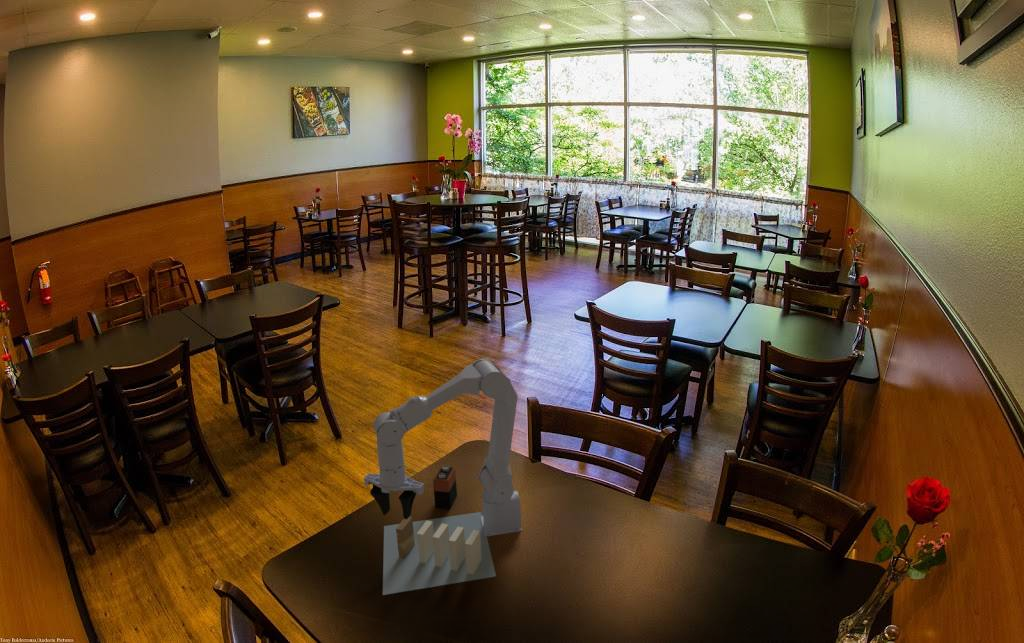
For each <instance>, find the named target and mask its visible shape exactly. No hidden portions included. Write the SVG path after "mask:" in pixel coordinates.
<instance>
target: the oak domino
mask: <svg viewBox="0 0 1024 643" xmlns="http://www.w3.org/2000/svg"><path fill="white" fill-rule="evenodd" d="M413 522H414V521H413V517H412V516H411V515H410V516H409V518H408V519H404V518H402V520H401V522H399V523H398V524H399V525H398V527H397V528H396V535H397V544H398V553H399V557H400V558H406V557H407V555H408V554H409V552H410V551H411V550H412V548H413V547H414V546H415V540H414V530H413Z"/></svg>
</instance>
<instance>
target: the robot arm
mask: <svg viewBox="0 0 1024 643" xmlns="http://www.w3.org/2000/svg"><path fill="white" fill-rule="evenodd" d="M503 372H504V371H502V370H501V369H500V367H499V366H497V365H496V364H495V363H494V362H492V361H491V360H490V359H488V358H480V359H477V360H475V361H474V362H473V363H471V364H468V365H467V366H465V367H464V368H463V370H461V371H460V372H459V373H458V374H457V375H455V376H454V377H452V378H451V379H450V380H448V381H447V382H444V384H442V385H441V386H439V387H438V388H436V389H435V390H433V391H431V392H430V393H428V394H427V395H416V396H415V397H414V396H412V395H411V396H410V397H409V398H407V401H406V402H404V403H402V404H401V405H399V406H398V407H396V408H394V409H393V408H391V409H390V410H389V411H387V412H386V411H385V412H382V413H380V414H378V415H377V416H376V417H375V419H374V421H373V424H372V429H373V431H374V433H375V435H376V446H377V447H376V451H377V459H378V460H377V461H378V462H377V463H378V469H379V470H378V471H379V473H367V474H366V475H365V476H364V477H363V481H364V485H365V486H370V485H372V488H371V490H369V493H370V496H372V498H374V500H375V501H376V503H377V505H378V506H379V508H380V510H381V513H382V515H383V516H386V515H388V513H389V512H390V510H391V503H390V493H391V492H401V491H402V493H401V494H400V495H399V496H398V500H399V502H400V505H401V508H402V516H403V519H408V518H409V516H410V517H411V516H412V508H413V504H414V501H415V498H416V495H418V496H421V495H422V494H423V493H424V491H425V483H423V482H420V481H417V480H415V479H413V478H411V477H409V476H407V474H406V466H405V465H406V464H405V455H404V454H405V453H404V445H403V442H402V440H403V438H404V435H405V434H407V433H408V432H409V431H410V430H412V429H414V428H416V427H417V426H419V425H420V424H422V423H423V422H425V421H427V420H428V419H430V418H432V415H433V411H434V410H435V409H437V408H439V407H441V406H443V405H444V404H446V403H448V402H450V401H452V400H454V399H456V398H458V397H460V396H462V395H464V394H468V395H472V396H477V397H479V396H480V395H481V394H480V391H481V393H482V394H483V395H484V396H485V397H487V398H490V399H492V400H494V404H493V412H492V419H491V422H492V423H491V429H490V437H489V438H490V439H489V447H488V453H487V454H488V455H487V457H486V458H484V459H483V464H482V467H481V468H480V470H479V473H478V480H479V482H480V483H481V484H482V486H483V488H482V493H481V498H482V501H481V502H482V516H481V517H480V518H481V523H482V527H483V531H484V535H485V536H487V537H491V536H492V537H493V536H498V535H504V534H505V535H506V534H511V533H517V532H521V531H522V530H523V528H522V508H521V500H520V495H519V491H518V490H515V487H514V484H513V474H512V470H511V466H510V458H511V451H512V450H511V449H512V443H513V434H514V427H515V420H516V419H515V418H516V412H517V404H518V393H517V391H516V390H515V388H514V386H513V384H512V382H511V379H510V377H508V376H507V375H506V374H505V373H503Z"/></svg>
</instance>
